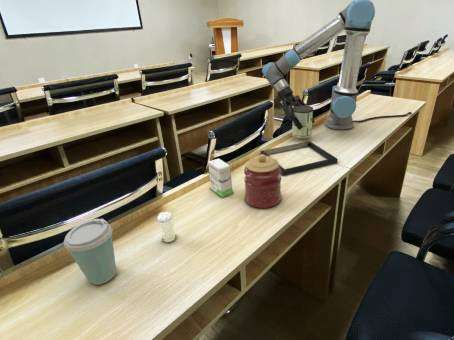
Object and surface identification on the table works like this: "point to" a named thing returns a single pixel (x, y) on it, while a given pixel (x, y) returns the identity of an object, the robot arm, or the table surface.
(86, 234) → the disposable coffee cup
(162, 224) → the salt shaker
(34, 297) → the table surface
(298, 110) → the coffee can
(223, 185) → the ink box
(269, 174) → the kitchen canister
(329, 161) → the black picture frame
